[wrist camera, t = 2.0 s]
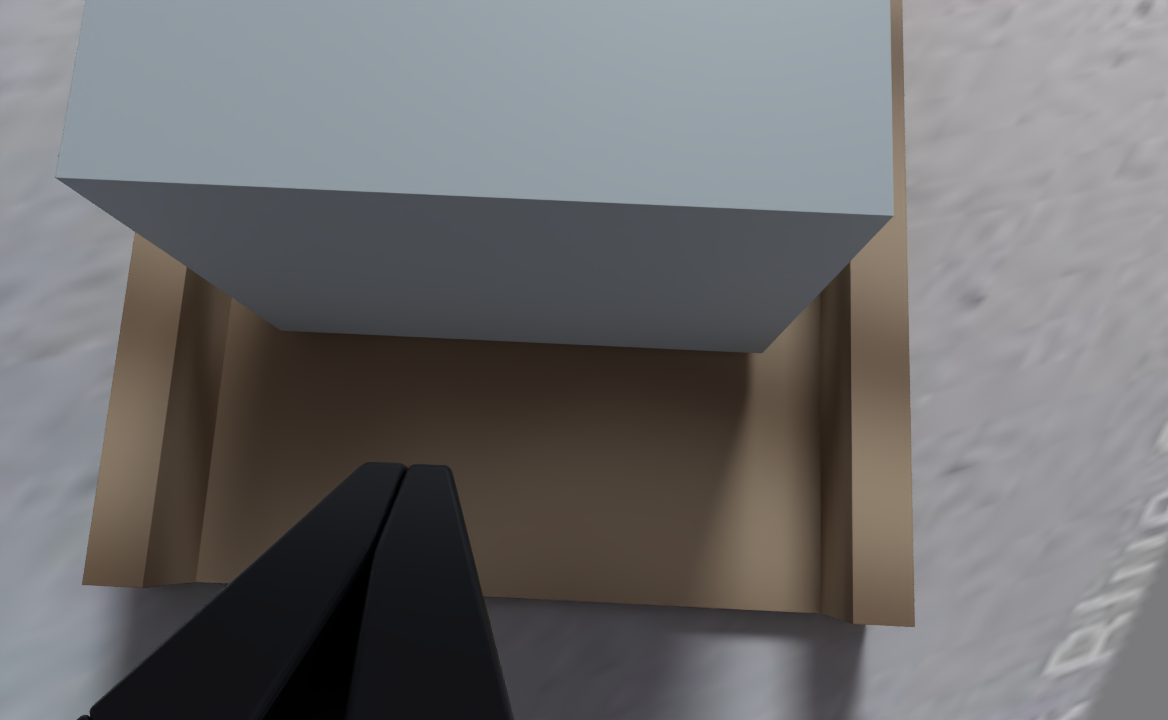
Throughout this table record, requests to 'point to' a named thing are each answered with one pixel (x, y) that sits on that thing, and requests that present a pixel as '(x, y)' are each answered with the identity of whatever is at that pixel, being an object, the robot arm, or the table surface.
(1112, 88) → the table surface
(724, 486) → the box
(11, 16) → the table surface
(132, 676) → the robot arm
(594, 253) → the grey block
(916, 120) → the table surface
